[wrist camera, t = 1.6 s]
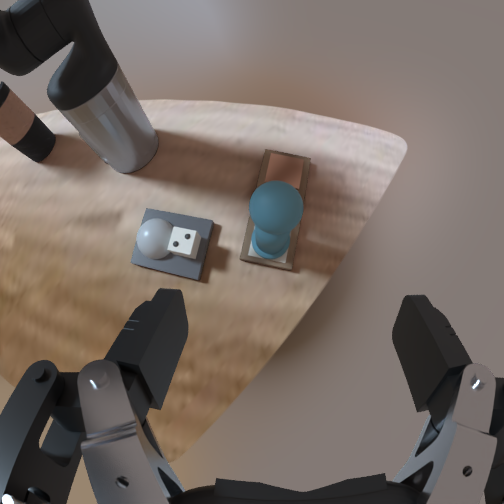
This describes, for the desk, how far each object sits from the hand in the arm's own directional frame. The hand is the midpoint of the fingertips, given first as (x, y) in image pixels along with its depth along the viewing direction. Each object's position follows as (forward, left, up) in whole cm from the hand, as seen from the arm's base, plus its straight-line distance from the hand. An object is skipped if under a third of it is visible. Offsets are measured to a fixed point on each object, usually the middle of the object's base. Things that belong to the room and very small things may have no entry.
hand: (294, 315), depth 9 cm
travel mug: (-51, +20, -26) cm, 61 cm away
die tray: (-14, +6, -28) cm, 32 cm away
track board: (-1, +14, -26) cm, 29 cm away
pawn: (-1, +8, -25) cm, 26 cm away
